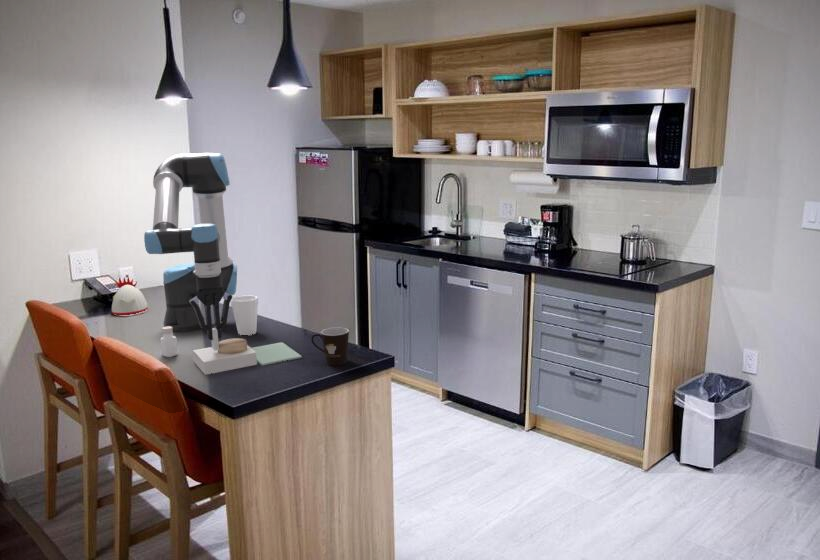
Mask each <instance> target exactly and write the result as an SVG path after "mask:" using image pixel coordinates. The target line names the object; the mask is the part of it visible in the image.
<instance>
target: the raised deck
mask: <svg viewBox="0 0 820 560" xmlns="http://www.w3.org/2000/svg"><path fill="white" fill-rule="evenodd" d="M251 348H252V347H251V346H249V344H247V350H246V351H244V352H241V353H237V354H220V353H218V350H216V351H214V350H213V349H212V346H208V347H203V348H199V349H193V350H192V352H193V353H192V354H193V363H194V364H195V365H196V366H197V367H198V368H199V369H200V371H201V372H202V373H203V374H204V375H205V376H207V375H211V373H212V374H217V373H221V372H227V371H233V370H237V369H241V368H242V369H243V368H247V367H251V366H257V365H258V362H257V357H256V352H255V351H254V350H253V349H251ZM206 374H207V375H206Z"/></svg>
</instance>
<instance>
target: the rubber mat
mask: <svg viewBox="0 0 820 560" xmlns="http://www.w3.org/2000/svg"><path fill="white" fill-rule="evenodd" d="M250 348H251V349H253V350H254V351H255V352H256V357H257V363H259V364H260V366H262V367H263V366H268V365H272V364H273V365H274V364H278V363H283V362H287V360H288V361H292V360H298V359H302V355H301V354H300V353H298V352H296V350H294V349H292V348H291V347H289V346H288V345H287V344H285V343H284V342H276V343H270V344H265V345H259V346H253V347H250ZM282 361H283V362H282ZM277 362H278V363H277Z"/></svg>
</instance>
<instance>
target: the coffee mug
mask: <svg viewBox="0 0 820 560" xmlns="http://www.w3.org/2000/svg"><path fill="white" fill-rule="evenodd" d="M349 331H350V330H349V329H348V328H346V327H340V326H339V327H338V326H337V327H328V328H325V329H322V330H321V331H320V334H319V333H314V334H313V335H312V336H311V339H310V341H311V343H312V345H313V346H314V347H315V348H317V349H318V350H319V351H321V352H322V353H324V357H325V358H324V359H325V362H326V365H328V366H332V365H333V366H336V365H337V366H342V364H343V365H344V364H347V362H348V353H349V352H348V351H349V337H350V336H349V334H350V333H349ZM315 337H320V339H321V340H322V347H323V348H321V347H320V346H318V345H317V344H316V343H315V340H314V338H315Z"/></svg>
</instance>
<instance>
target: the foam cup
mask: <svg viewBox="0 0 820 560" xmlns="http://www.w3.org/2000/svg"><path fill="white" fill-rule="evenodd" d="M230 305H231V307H232V308H231V309H232V312H233V316H234V318H233V319H234V322H235V327H236V330H237V333H238V335H239V334H240V335H239V336H241V335H248V336H253V335H256V333H257V325H258V324H257V323H258V306H259V297H258V296H257V295H252V294H251V295H249V294H247V295H246V294H245V295H239V296H235V297H234V296H233V297H232V299H231V301H230ZM252 334H253V335H252Z"/></svg>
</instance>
